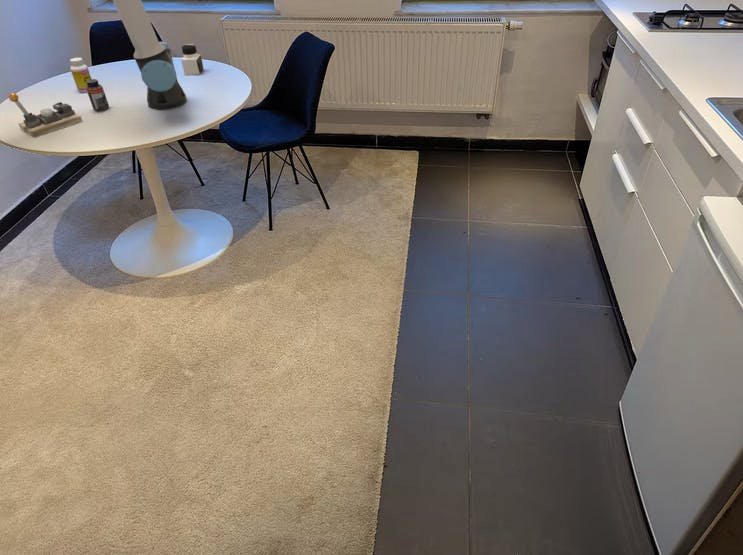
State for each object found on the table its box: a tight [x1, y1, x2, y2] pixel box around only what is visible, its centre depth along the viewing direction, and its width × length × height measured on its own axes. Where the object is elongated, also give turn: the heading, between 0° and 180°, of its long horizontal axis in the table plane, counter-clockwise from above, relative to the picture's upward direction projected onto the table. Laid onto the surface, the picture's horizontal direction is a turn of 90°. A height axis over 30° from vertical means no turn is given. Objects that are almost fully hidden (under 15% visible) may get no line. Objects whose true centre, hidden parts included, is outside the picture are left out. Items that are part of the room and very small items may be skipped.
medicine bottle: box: [180, 43, 205, 76], centre depth 244 cm, size 7×7×12 cm
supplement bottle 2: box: [86, 78, 110, 112], centre depth 212 cm, size 6×6×11 cm
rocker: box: [52, 103, 73, 111], centre depth 205 cm, size 4×5×2 cm
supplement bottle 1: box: [69, 57, 92, 93], centre depth 230 cm, size 7×7×13 cm
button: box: [39, 108, 54, 118], centre depth 202 cm, size 4×4×2 cm
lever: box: [8, 92, 30, 117], centre depth 194 cm, size 3×3×11 cm
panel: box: [18, 101, 83, 138], centre depth 202 cm, size 12×18×6 cm, turn 140°
